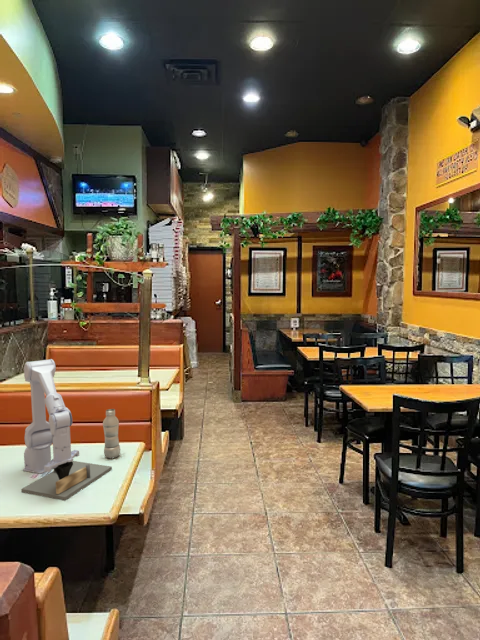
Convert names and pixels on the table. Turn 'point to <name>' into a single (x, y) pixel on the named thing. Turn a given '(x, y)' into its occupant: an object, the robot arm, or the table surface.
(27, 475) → the table surface
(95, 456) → the table surface
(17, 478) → the table surface
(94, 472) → the gate board
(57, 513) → the table surface
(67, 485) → the board
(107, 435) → the plastic bottle
